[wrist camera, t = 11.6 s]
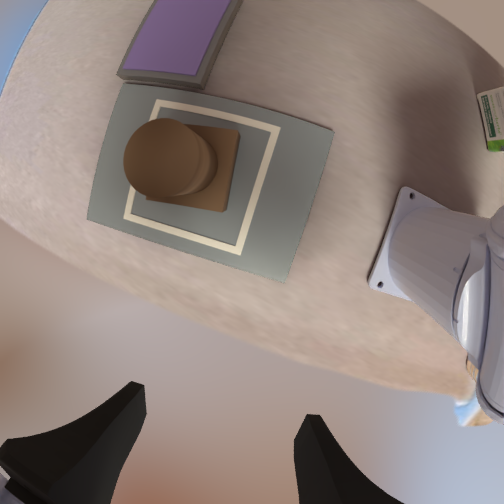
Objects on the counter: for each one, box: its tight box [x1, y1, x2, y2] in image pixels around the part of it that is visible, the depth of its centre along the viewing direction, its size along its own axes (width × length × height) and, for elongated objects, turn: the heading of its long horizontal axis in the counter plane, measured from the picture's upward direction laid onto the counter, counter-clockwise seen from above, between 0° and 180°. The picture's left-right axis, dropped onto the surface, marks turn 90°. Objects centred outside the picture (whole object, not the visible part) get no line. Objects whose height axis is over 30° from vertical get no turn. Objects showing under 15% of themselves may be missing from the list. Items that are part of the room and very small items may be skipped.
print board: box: [87, 84, 335, 283], centre depth 18 cm, size 16×11×1 cm
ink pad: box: [116, 0, 243, 89], centre depth 15 cm, size 7×9×1 cm
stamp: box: [123, 118, 241, 213], centre depth 14 cm, size 5×5×7 cm
